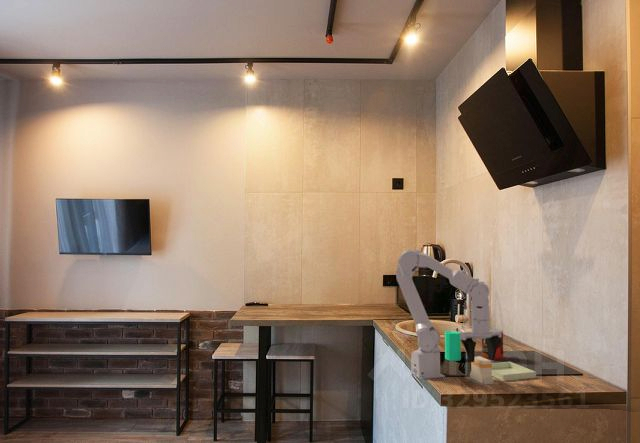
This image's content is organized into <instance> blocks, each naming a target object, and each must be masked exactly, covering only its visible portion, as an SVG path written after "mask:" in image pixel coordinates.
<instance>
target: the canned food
mask: <svg viewBox="0 0 640 443" xmlns="http://www.w3.org/2000/svg"><path fill="white" fill-rule="evenodd" d="M490 331H501V337H498V338H500V339H501V343H500V344H499V346H498V348H497V351H496V354H495V358H494V360H493V361H501V360H503V358H504V331H503V330H502V329H501V328H500V329H499V328H495V327H494V328H493V327H490ZM481 357H483V358H486V359H488V360H490V359H489V358H488V347H487V342H486V338H481Z"/></svg>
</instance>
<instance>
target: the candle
mask: <svg viewBox="0 0 640 443" xmlns="http://www.w3.org/2000/svg"><path fill="white" fill-rule="evenodd" d="M460 333H461V332H459V331H456V330H455V331H454V328H452V331H451V330H445V332H444V359H445V360H447V361H452V362H457V361H461V360H462V342H461V339H460Z"/></svg>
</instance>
